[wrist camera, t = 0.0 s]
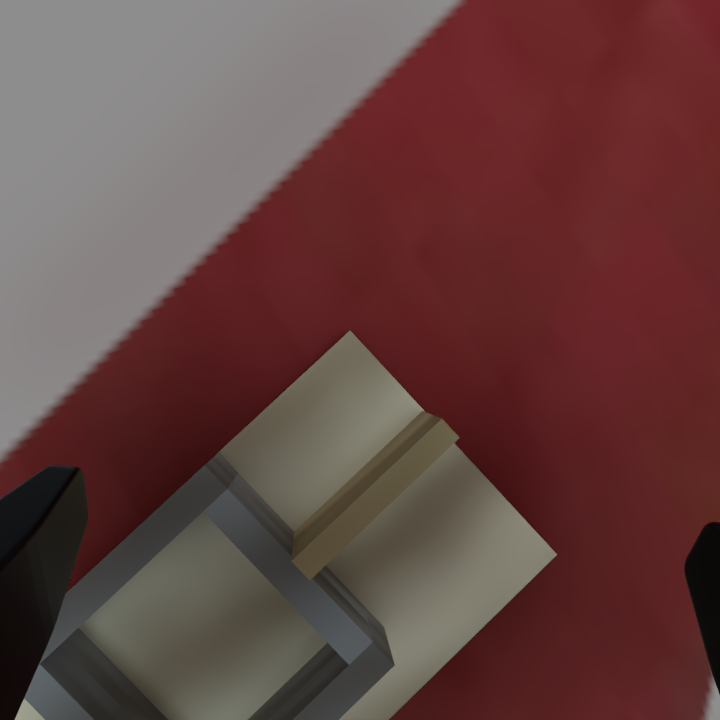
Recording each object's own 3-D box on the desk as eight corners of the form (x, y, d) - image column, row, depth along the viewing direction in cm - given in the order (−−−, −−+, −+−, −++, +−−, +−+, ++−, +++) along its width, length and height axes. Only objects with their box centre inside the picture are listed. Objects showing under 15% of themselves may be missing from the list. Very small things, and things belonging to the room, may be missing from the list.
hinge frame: (547, 547, 25) (599, 586, 20) (127, 957, 24) (83, 1096, 19) (348, 331, 24) (357, 324, 20) (-92, 739, 23) (-189, 828, 19)
